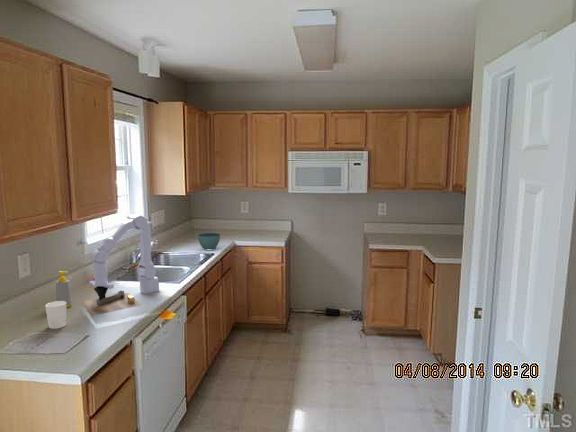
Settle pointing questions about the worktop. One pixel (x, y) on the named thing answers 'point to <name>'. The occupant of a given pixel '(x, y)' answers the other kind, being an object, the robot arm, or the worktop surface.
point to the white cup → (56, 314)
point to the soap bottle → (63, 290)
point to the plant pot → (209, 240)
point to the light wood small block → (131, 299)
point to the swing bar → (110, 298)
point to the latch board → (110, 305)
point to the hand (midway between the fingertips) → (102, 300)
